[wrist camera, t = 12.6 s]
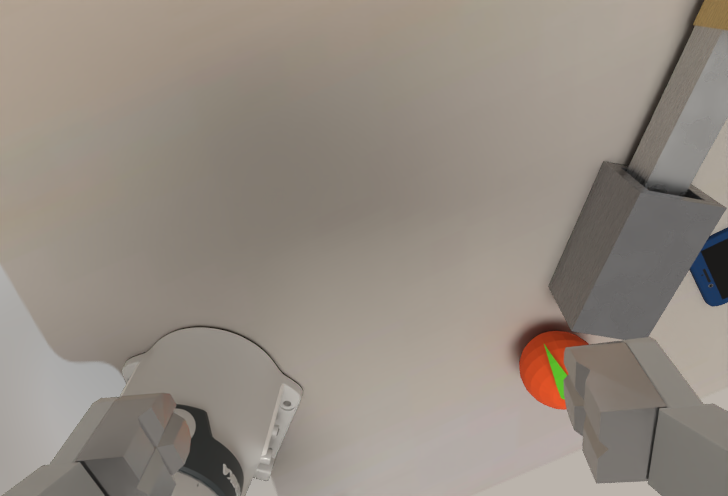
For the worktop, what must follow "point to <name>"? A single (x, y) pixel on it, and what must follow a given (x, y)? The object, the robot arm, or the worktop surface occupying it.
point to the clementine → (547, 366)
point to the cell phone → (713, 269)
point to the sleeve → (629, 254)
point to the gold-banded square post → (688, 108)
